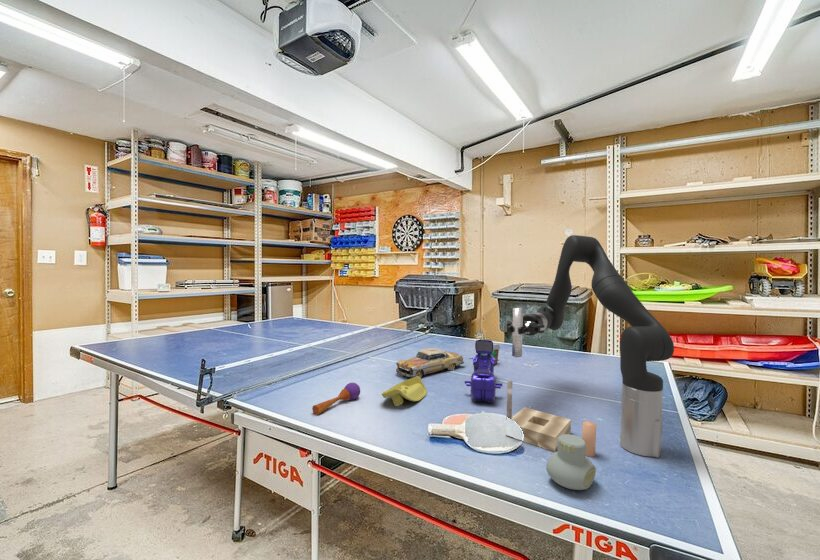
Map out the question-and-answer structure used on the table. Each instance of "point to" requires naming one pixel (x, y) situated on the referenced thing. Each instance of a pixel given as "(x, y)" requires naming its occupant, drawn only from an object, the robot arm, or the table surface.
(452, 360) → the car
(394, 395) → the plastic component
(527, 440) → the socket block
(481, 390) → the motorcycle
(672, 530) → the table surface
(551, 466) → the air freshener
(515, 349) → the steel pin
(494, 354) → the food container
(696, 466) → the table surface
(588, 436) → the terracotta pin
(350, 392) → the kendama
